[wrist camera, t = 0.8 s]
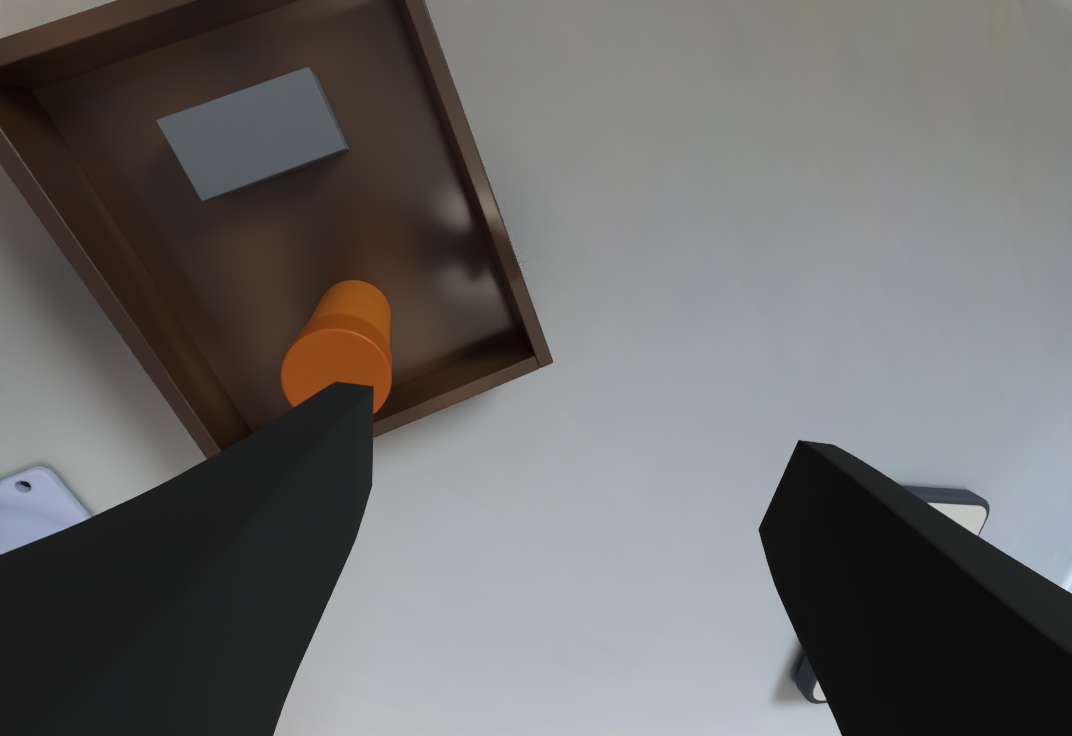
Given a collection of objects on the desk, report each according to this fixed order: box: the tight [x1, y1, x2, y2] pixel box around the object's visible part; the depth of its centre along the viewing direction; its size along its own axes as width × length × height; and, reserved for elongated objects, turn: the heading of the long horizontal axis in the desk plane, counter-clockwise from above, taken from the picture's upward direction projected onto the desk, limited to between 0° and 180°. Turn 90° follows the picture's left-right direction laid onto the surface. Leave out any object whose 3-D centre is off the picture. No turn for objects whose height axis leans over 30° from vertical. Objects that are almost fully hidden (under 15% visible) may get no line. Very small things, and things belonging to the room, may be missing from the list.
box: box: [0, 0, 553, 459], centre depth 20 cm, size 13×15×4 cm
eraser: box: [156, 67, 349, 201], centre depth 19 cm, size 5×3×2 cm, turn 108°
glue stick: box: [280, 280, 392, 414], centre depth 19 cm, size 3×3×8 cm
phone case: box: [796, 486, 989, 704], centre depth 36 cm, size 9×2×16 cm
